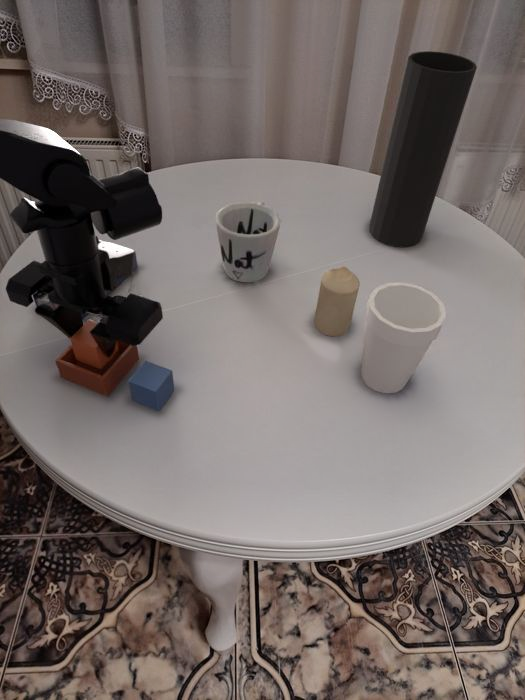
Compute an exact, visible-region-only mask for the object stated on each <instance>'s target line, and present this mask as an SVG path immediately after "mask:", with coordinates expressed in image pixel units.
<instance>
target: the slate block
mask: <svg viewBox="0 0 525 700" xmlns="http://www.w3.org/2000/svg"><path fill="white" fill-rule="evenodd" d="M128 386H129V392H130V397H131V401H132V402H133V403H136V404H138V405H141V406H144V407H146V408H149V409H150V410H153V411H156V412H160V410H161V409H162V408H163V407H164V405H165V404H166V403H167V402H168V400H169V399H170V397H171V396H172V395H173V393H174V392H175V382H174V373H173V370H172V369H170V368H167V367H164V366H162V365H159V364H157V363H153V362H151V361H148V360H144V361H143V363H142V364H141V365H140V367H138V369H137V370H136V371H135V372H134V374H133V375H132V376H131V377H130V378H129V379H128Z"/></svg>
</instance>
